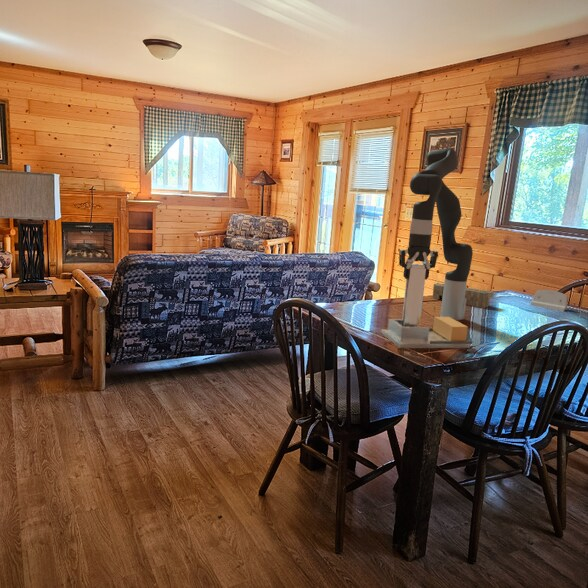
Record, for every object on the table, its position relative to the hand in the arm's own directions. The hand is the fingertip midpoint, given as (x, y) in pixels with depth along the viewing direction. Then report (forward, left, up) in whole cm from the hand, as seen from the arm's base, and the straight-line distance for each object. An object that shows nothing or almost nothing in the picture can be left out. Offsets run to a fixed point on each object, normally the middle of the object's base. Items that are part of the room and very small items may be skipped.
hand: (415, 278), depth 180 cm
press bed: (-6, 0, -23) cm, 24 cm away
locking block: (-16, 0, -21) cm, 26 cm away
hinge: (-102, -57, -23) cm, 120 cm away
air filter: (0, 0, -20) cm, 20 cm away
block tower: (-57, -65, -23) cm, 90 cm away
